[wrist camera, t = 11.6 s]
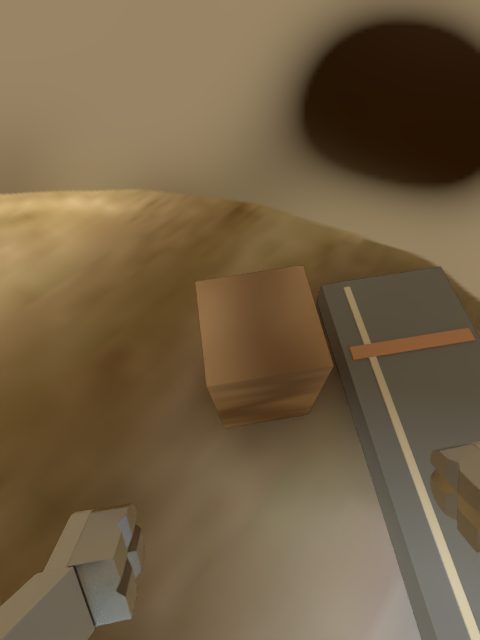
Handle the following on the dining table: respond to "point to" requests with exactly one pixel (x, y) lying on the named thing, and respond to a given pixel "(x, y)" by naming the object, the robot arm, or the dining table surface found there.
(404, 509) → the board
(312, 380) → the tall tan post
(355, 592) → the dining table surface
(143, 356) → the dining table surface
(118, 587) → the robot arm
